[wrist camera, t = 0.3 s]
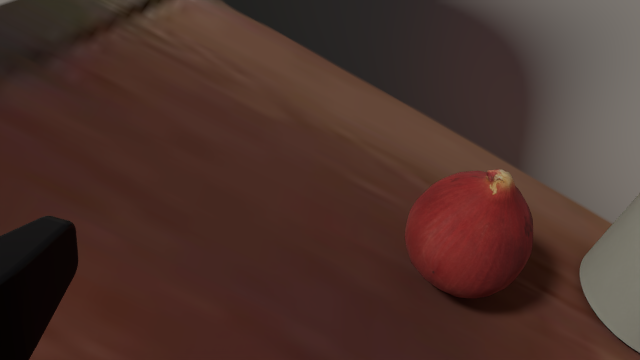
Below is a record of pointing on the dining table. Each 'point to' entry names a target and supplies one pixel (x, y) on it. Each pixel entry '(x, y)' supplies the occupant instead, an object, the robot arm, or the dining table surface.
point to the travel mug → (616, 276)
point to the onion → (470, 233)
